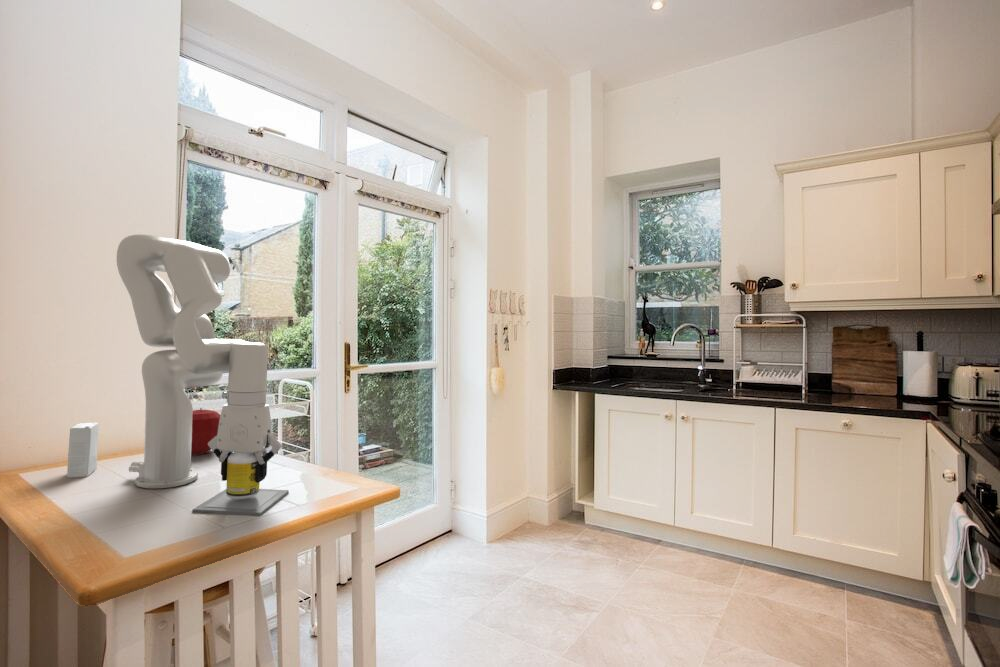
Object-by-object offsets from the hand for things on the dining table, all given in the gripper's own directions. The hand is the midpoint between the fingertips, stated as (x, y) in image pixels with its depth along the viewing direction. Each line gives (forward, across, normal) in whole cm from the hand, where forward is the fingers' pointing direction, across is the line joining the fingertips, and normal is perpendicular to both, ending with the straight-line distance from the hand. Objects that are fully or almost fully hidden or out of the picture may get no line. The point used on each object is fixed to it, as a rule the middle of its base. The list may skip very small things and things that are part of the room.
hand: (243, 479), depth 112 cm
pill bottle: (+4, 0, 0) cm, 4 cm away
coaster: (+5, 0, 0) cm, 5 cm away
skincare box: (+5, -46, +13) cm, 48 cm away
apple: (+5, -31, +36) cm, 48 cm away
